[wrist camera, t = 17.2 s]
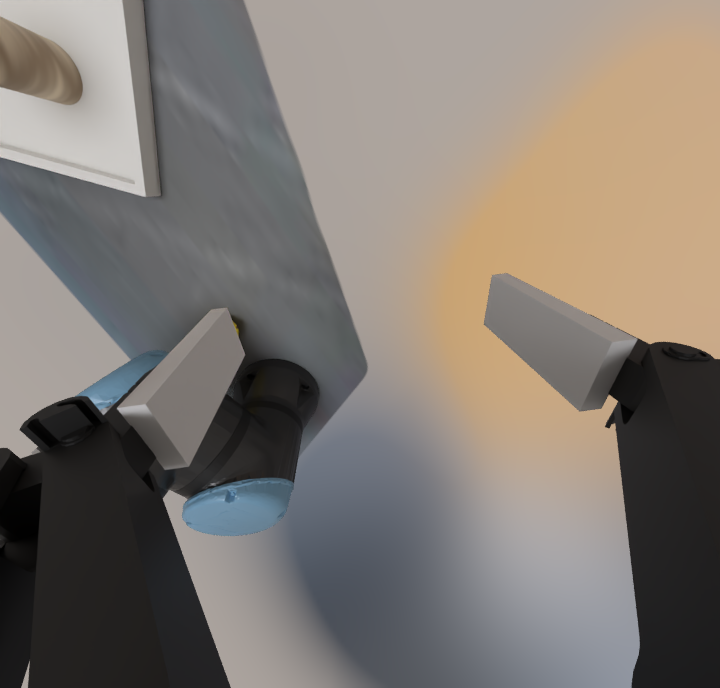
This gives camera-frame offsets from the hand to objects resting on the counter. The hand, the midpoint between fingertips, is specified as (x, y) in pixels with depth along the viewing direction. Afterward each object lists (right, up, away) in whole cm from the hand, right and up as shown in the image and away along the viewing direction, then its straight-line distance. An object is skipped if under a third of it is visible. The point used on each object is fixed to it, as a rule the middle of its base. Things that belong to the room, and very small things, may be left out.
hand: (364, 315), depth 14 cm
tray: (-32, +27, +14) cm, 44 cm away
